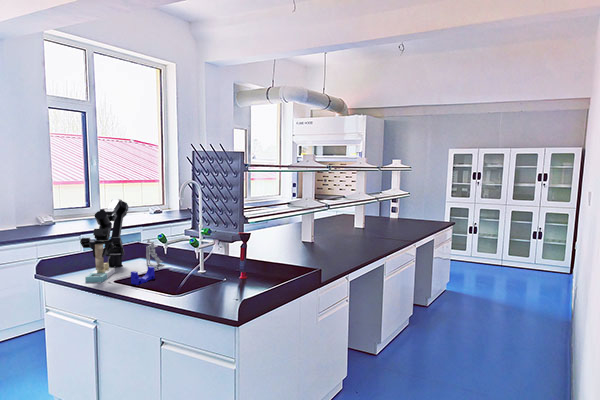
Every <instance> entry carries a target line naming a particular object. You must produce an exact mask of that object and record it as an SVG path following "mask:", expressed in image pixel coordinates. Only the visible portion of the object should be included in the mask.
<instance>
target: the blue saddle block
mask: <svg viewBox="0 0 600 400" xmlns="http://www.w3.org/2000/svg"><path fill="white" fill-rule="evenodd" d="M154 279H155V266H147V271H146V273H145V274H144V275H143V276H142V277H140V276H139V273H138V271H133V270H132V271H130V284H131V285H137V286H139V285H142V284H145V283H147V282H148V281H150V280H154Z"/></svg>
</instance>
